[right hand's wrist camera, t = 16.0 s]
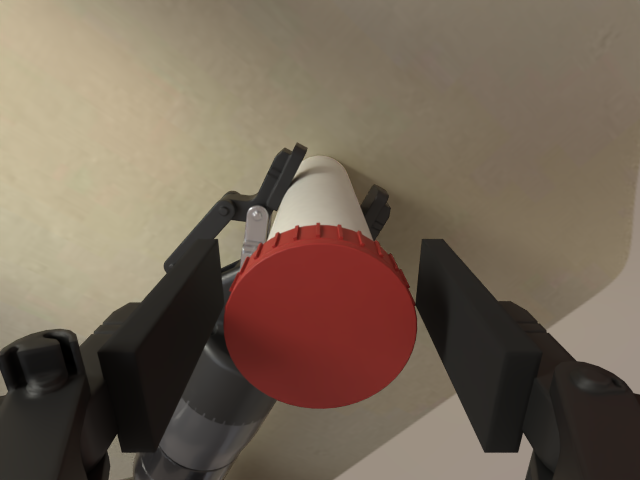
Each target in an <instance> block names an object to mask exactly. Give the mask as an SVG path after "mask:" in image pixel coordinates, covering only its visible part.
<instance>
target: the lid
mask: <svg viewBox="0 0 640 480" xmlns="http://www.w3.org/2000/svg"><path fill="white" fill-rule="evenodd" d="M408 288H410V286H409V284H408V282H407V280H406V278H405V276H404V274H403V272H402V270H401V269H400V270H399V268H398V266H397V264H396V262H395V260H394V258H393V255H392V254H391V253H390V254H389V255H388V254H387V253H386V252H385V251H384V249H383V248H382V247H381V246H380V244H379V242H378V241H377V240H376V241H375V242H374V241H373V240H371V239H369V238H368V237H366V236H364V235H362V232H361V231H359V230H358V231H357V232H355V231H353V230H350V229H346V228H343V227H342V226H341V225H340V224H338V225H337V226H331V225H320V223H316V225H310V226H302V227H299V225H296V226H295V228H294V229H291V230H288V231H285V232H283V233H279V232H277V233H276V234H275V237H273V238H271V239H270V240H268V241H267V242H265V243H264V244H263V243H262V242H261V243H260V244H259V245H258V248H257V250H256V251H255V252H254V253H253V254H252V255H251V257H248V256H247V257H246V259H245V261H244V263H243V265H242V268H241V270H240V272H238V273H237V275H236V277H235V279H234V281H233V283H232V285H231V288H230V290H229V291H231V294H230V296H229V299H228V301H227V303H226V305H225V314H224V324H223V326H224V337H225V342H226V346H227V349H228V352H229V354H230V357H231V359H232V360H233V362H234V364H235V366H236V367H237V369H238V370H239V371H240V373H241V374H242V375H243V376H244V377H245V378H246V379H247V380H248V381H249V382H250V383H251V384H252V385H253V386H255V387H256V388H257V389H258V390H260V391H261V392H263V393H265V394H266V395H268V396H270V397H272V398H274V399H276V400H278V401H281V402H284V403H287V404H290V405H294V406H299V407H305V408H317V409H326V408H336V407H342V406H347V405H350V404H354V403H357V402H359V401H362V400H364V399H367V398H369V397H371V396H372V395H374V394H376V393H378V392H379V391H381V390H382V389H383V388H385V387H386V386H387V385H388V384H390V383H391V382H392V381H393V380H394V379H395V378H396V377H397V376H398V374H399V373H400V372H401V371H402V369H403V368H404V366H405V365H406V363H407V362H408V360H409V358H410V355H411V353H412V351H413V348H414V344H415V341H416V334H417V317H416V311H415V306H416V305H415V302H414V300H413V297H412V295H411V293H410V291H409V289H408Z"/></svg>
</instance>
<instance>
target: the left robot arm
mask: <svg viewBox="0 0 640 480" xmlns="http://www.w3.org/2000/svg"><path fill="white" fill-rule="evenodd" d="M307 149H308V148H307V147H305V146H303V145H301V144H299V143H296V145H295V147H294V149H293V151H290V150H288V149H287V148H284V149H283V150H281V151H280V152H279V153H278V154H277V155H276V157H275V158H274V161H273V163H272V165H271V167H270V169H269V171H268V173H267V175H266V177H265V179H264V182H263V184H262V186H261V188H260V190H259V192H258V193H257V194H255V195H251V196H249V195H241V194H239V193H238V192H236V191H229V192H227V193H226V194H225V195H224V196H223V197H222V198H221V200H219V201H218V202H217V203H216V204H215V205H214V206H213V207H212V209H211V210H210V211H209V212H208V213H207V214H206V215H205V217H204V218H203V219H202V220H201V221H200V222H199V223H198V225H197V226H196V227H195V228H194V229H193V230H192V231H191V233H190V234H189V235H188V236H187V237H186V238H185V239H184V241H183V242H182V243H181V244H180V245H179V246H178V248H177V249H176V250H175V251H174V252H173V253H172V254H171V256H170V257H169V258H168V259H167V260H166V261H165V263H164V270H165V271H166V273H168V272H169V270H170V269H171V268H172V267H173V266H174V265H175V264H176V262H177V261H178V260H179V259H180V258H181V257H182V256H183V255H184V253H185V252H186V251H187V250H188V249H189V248H190V247H191V246H192V244H193V243H194V242H195V241H196V240H197V239H214V238H215V237H216V236H217V235H218V234H219V233H220V231H221V230H222V229H223V228H224V227H225V226H226V225H227V224H228V223H229V221H230V220H236V221H244V222H246V228H245V237H244V244H243V247H242V253H241V259H240V260H238V261H236V262H234V263H232V264H230V265H227V266H225V267H223V268H221V274H222V284H223V294H224V304H225V305H226V303H227V301H228V299H229V296H230V294H231V291H229V290H230V288H231V285H232V283H233V281H234V279H235V277H236V275H237V273H238V272H240V270H241V268H242V265H243V263H244V261H245V259H246V257H247V256H248V257H251V255H252V254H253V253H254V252H255V251H256V250H257V248H258V245H259V244H260V243H261V242H262V243H263V244H264V243H265V242H267V239H268V237H269V234H270V227H271V219H272V212H273V210H275V211H277V210H278V208H279V206H280V204H281V202H282V200H283V197H284V195H285V194H286V192H287V190H288V188H289V186H290V184H291V182H292V180H293V178H294V176H295V174H296V172H297V170H298V168H299V166H300V164H301V162H302V160H303V158H304V156H305V154H306V152H307ZM388 197H389V195H388V193H387V192H386V191H385V190H384V189H382V188H381V187H379V186H377V185H373V186H372V188H371V189H370V191H369V192H368V194H367V196H366V197H365V199H364V201H363V203H362V204H361V206H360V207H361V210H362V212H363V215H364V218H365V220H366V223H367V226H368V228H369V231H370V233H371V236H372V239H373V241H375V239H376V237H377V236H378V234H379V233H380V231H381V229H382V228H383V226H384V225H385V223H386V221H387V220H388V218H389V215H390V209H391V208H390V206H389V205H388V203H387V200H388ZM225 305H224V307H223V309H222V311H221V313H220V315H219V318H218V320H217V322H216V324H215V326H214V328H213V330H212V333H211V335H210V337H209V339H208V341H207V343H206V345H205V348H204V350H203V352H202V354H201V356H200V358H199V360H198V363H197V365H196V367H195V369H194V371H193V373H192V375H191V377H190V380H189V382H188V384H187V386H186V388H185V390H184V392H183V395H182V397H181V399H180V401H179V403H178V405H177V407H176V410H175V412H174V414H173V416H172V418H171V420H170V422H169V425H168V427H167V429H166V431H165V433H164V435H163V437H162V440H161V442H160V444H159V446H158V448H157V450H156V452H155V453H136V455H135V459H134V464H133V477H130V478H126V479H121V480H224V478H225V477H226V475H227V473H228V472H229V470H230V469H231V467H232V465H233V464H234V462H235V460H236V459H237V457H238V455H239V454H240V452H241V451H242V450H243V449H244V447H245V446H246V445H247V444H248V443H249V442H250V441H251V439H252V438H253V437H254V436H255V434H256V433H257V431H258V430H259V428H260V426H261V425H262V423H263V422H264V420H265V418H266V417H267V415H268V413H269V412H270V410H271V409H272V407H273V405H274V404H275V402H276V401H277V400H276V399H274V398H272V397H270V396H268V395H266V394H265V393H263V392H261V391H260V390H258V389H257V388H256V387H255V386H253V385H252V384H251V383H250V382H249V381H248V380H247V379H246V378H245V377H244V376H243V375H242V374H241V373H240V371H239V370H238V369H237V367H236V366H235V364H234V362H233V360H232V359H231V357H230V354H229V352H228V349H227V346H226V342H225V337H224V326H223V324H224V314H225Z"/></svg>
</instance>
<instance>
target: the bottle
mask: <svg viewBox="0 0 640 480" xmlns="http://www.w3.org/2000/svg"><path fill="white" fill-rule="evenodd" d="M316 223H320V225H331V226H337V225H338V224H340V225H341V226H342V227H343V228H346V229H350V230H353V231H355V232H357V231H358V230H359V231H361V232H362V235H364V236H366V237H368V238H369V239H371V240H373V239H372V236H371V233H370V231H369V228H368V226H367V223H366V220H365V218H364V215H363V212H362V210H361V207H360V205H359V202H358V199H357V197H356V194H355V192H354V189H353V186H352V184H351V181H350V179H349V176H348V174H347V171H346V170H345V168H344V167H343V166H342V164H340V163H339V162H338V161H337V160H335V159H333V158H331V157H328V156H321V155H319V156H312V157H309V158H307V159H305V160H303V161H302V162H301V164H300V166H299V168H298V170H297V172H296V174H295V176H294V178H293V180H292V182H291V184H290V186H289V188H288V190H287V192H286V194H285V195H284V197H283V200H282V202H281V205H280V207H279V210H278V213H277V215H276V218H275V221H274V223H273V226H272V229H271V231H270V234H269V237H268V239H267V241H268V240H270V239H271V238H273V237H275V234H276V233H277V232H279V233H283V232H285V231H288V230H291V229H294V228H295V226H296V225H299V227H302V226H310V225H316Z"/></svg>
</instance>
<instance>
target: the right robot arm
mask: <svg viewBox="0 0 640 480" xmlns="http://www.w3.org/2000/svg"><path fill="white" fill-rule="evenodd" d="M224 305H225V304H224V294H223V284H222V274H221V264H220V255H219V245H218V239H197V240H196V241H195V242H194V243H193V244H192V246H191V247H190V248H189V249H188V250H187V251H186V252H185V253H184V255H183V256H182V257H181V258H180V259H179V260H178V261H177V262H176V264H175V265H174V266H173V267H172V268H171V269H170V270H169V272H168V273H167V274H166V275H165V276H164V277H163V278H162V279H161V281H160V282H159V283H158V284H157V285H156V286H155V287H154V288H153V290H152V291H151V292H150V293H149V294H148V295H147V296H146V297H145V299H144V300H143V301H142V302H141V303H128V304H126V305H124V306H123V307H121V308H119V309H118V310H116V311H114V312H113V313H112V314H111V315H110V316H109V317H108V318H107V319H106V320H105V321H104V322H103V325H100V326H99V327H98V328H97V329H96V330H95V331H94V334H91V335H90V336H89V337H88V338H87V339H86V340H85V341H84V343H83V344H82V345H81V346H80V347H79V344H78V340H77V336H76V334H75V333H73V332H72V331H70V330H64V329H53V330H45V331H41V332H37V333H33V334H30V335H28V336H25V337H23V338H20V339H18V340H16V341H14V342H13V343H11V344H9V345H8V346H6V347H4V348H3V349H2V350H1V351H0V370H1V373H2V376H3V378H4V381H5V384H6V387H7V389H8V393H7V394H6V395H4V396H0V480H108V479H109V471H110V461H109V456H108V452H107V449H108V448H109V446H110V445H111V443H112V441H113V440H114V438H115V436H116V435H118V439H119V443H120V447H121V451H122V453H155V452H156V450H157V448H158V446H159V444H160V442H161V440H162V437H163V435H164V433H165V431H166V429H167V427H168V425H169V422H170V420H171V418H172V416H173V414H174V412H175V410H176V407H177V405H178V403H179V401H180V399H181V397H182V395H183V392H184V390H185V388H186V386H187V384H188V382H189V380H190V377H191V375H192V373H193V371H194V369H195V367H196V365H197V363H198V360H199V358H200V356H201V354H202V352H203V350H204V348H205V345H206V343H207V341H208V339H209V337H210V335H211V333H212V330H213V328H214V326H215V324H216V322H217V320H218V318H219V315H220V313H221V311H222V309H223V307H224ZM415 305H416V307H417V309H418V311H419V313H420V315H421V318H422V320H423V322H424V324H425V326H426V328H427V330H428V333H429V335H430V337H431V339H432V341H433V343H434V345H435V348H436V350H437V352H438V354H439V356H440V358H441V360H442V363H443V365H444V367H445V369H446V371H447V373H448V375H449V377H450V380H451V382H452V384H453V386H454V388H455V390H456V392H457V394H458V397H459V399H460V401H461V403H462V405H463V407H464V410H465V412H466V414H467V416H468V418H469V420H470V422H471V425H472V427H473V429H474V431H475V433H476V435H477V437H478V439H479V442H480V444H481V446H482V448H483V450H484V452H485V453H517V452H518V451H519V447H520V443H521V439H522V435H523V433H524V434H525V436H526V438H527V439H528V441H529V443H530V444H531V446H532V447H533V452H532V456H531V460H530V464H529V467H528V471H527V475H526V478H525V480H640V395H639V394H635V393H633V392H632V390H631V389H630V388H629V387H628V385H627V384H626V383H625V382H624V381H623V380H621V379H620V378H619V377H617V376H616V375H615V374H613V373H611V372H609V371H607V370H605V369H603V368H601V367H599V366H595V365H592V364H589V363H585V362H578V361H576V360H575V359H574V358H573V357H572V356H571V355H570V354H569V353H568V352H567V351H566V350H565V349H564V348H563V347H562V346H561V345H560V344H559V343H558V342H557V341H556V340H555V339H554V338H553V337H552V336H551V335H550V334H549V333H547V332H546V330H545V329H544V328H543V326H542V325H541V324H538V323H537V322H538V321H537V320H536V319H535V318H534V317H533V316H532V315H531V314H530V313H529V312H528V311H527V310H525V309H523V308H521V307H520V306H518V305H516V304H514V303H513V302H511V301H497V300H496V299H495V298H494V296H493V295H492V294H491V293H490V292H489V291H488V290H487V288H486V287H485V286H484V285H483V284H482V283H481V282H480V281H479V279H478V278H477V277H476V276H475V275H474V274H473V273H472V272H471V270H470V269H469V268H468V267H467V266H466V265H465V264H464V262H463V261H462V260H461V259H460V258H459V257H458V256H457V255H456V253H455V252H454V251H453V250H452V249H451V248H450V247H449V246H448V244H447V243H446V242H445V241H444V240H443V239H422V245H421V255H420V264H419V274H418V284H417V294H416V304H415Z"/></svg>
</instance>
